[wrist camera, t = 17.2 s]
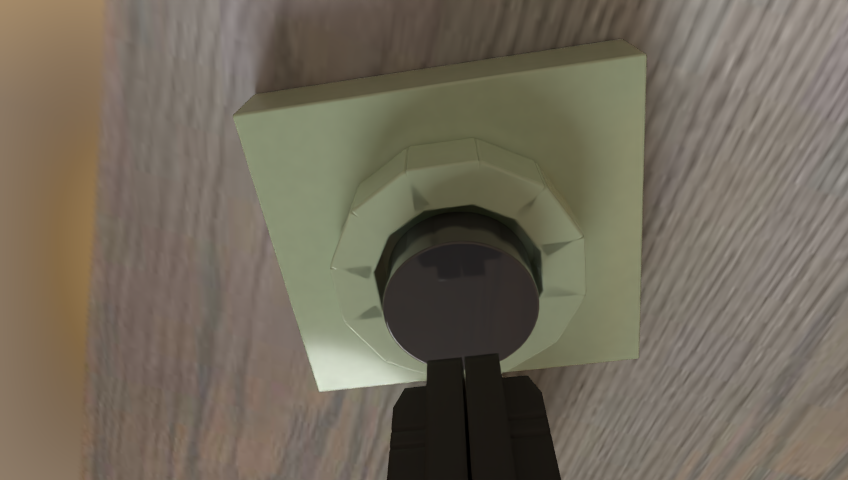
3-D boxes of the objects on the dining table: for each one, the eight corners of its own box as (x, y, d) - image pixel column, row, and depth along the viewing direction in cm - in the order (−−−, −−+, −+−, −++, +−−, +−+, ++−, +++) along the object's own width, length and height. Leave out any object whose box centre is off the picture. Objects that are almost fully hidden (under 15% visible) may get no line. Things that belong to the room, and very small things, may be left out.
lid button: (400, 338, 18) (397, 378, 16) (375, 220, 16) (368, 252, 14) (534, 324, 17) (544, 363, 16) (525, 200, 15) (534, 231, 14)
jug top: (328, 352, 23) (308, 432, 19) (253, 94, 18) (208, 136, 14) (621, 319, 22) (657, 397, 18) (623, 37, 17) (673, 68, 13)
